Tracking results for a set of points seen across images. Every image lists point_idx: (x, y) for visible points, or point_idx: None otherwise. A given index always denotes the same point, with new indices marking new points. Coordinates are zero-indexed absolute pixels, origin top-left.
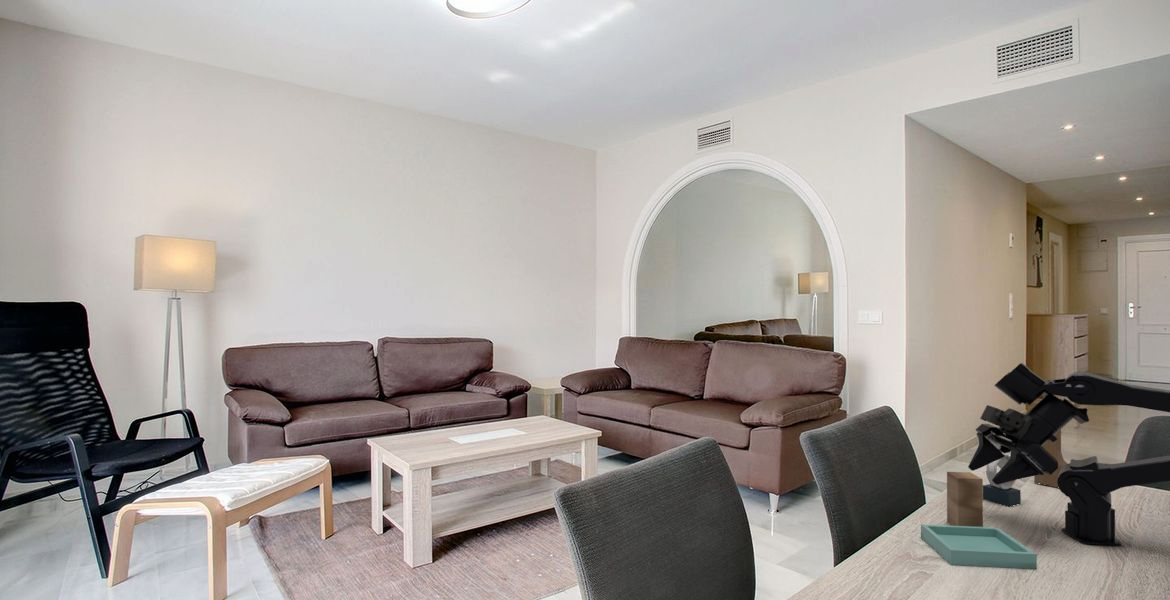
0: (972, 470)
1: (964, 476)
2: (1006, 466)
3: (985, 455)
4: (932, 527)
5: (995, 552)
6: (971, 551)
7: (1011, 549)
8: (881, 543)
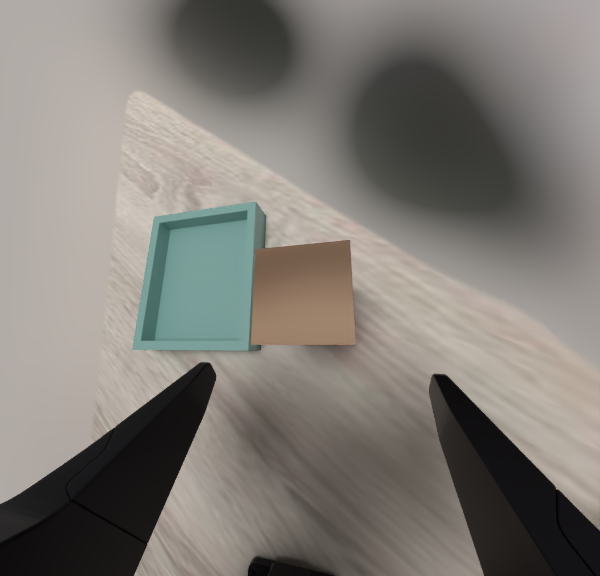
0: (429, 390)
1: (280, 284)
2: (107, 439)
3: (511, 561)
4: (248, 220)
5: (143, 282)
6: (150, 246)
7: (193, 338)
8: (238, 154)
